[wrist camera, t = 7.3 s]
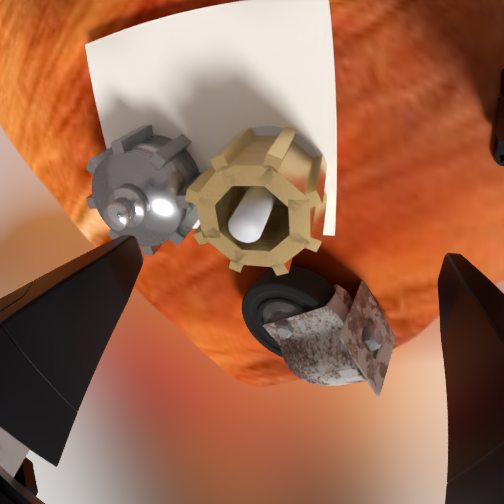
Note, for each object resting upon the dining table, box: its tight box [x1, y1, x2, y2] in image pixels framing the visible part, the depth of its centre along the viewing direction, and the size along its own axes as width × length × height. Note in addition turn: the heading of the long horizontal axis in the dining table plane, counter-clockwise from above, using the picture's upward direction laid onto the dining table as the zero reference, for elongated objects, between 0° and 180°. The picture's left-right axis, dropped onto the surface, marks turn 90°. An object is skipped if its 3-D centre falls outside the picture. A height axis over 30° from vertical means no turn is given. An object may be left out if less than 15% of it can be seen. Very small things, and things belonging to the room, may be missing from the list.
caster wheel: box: [242, 266, 395, 396], centre depth 25 cm, size 7×11×10 cm
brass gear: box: [185, 126, 327, 276], centre depth 17 cm, size 7×7×5 cm
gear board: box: [85, 0, 337, 243], centre depth 17 cm, size 16×15×8 cm
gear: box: [86, 125, 203, 255], centre depth 19 cm, size 8×8×6 cm
